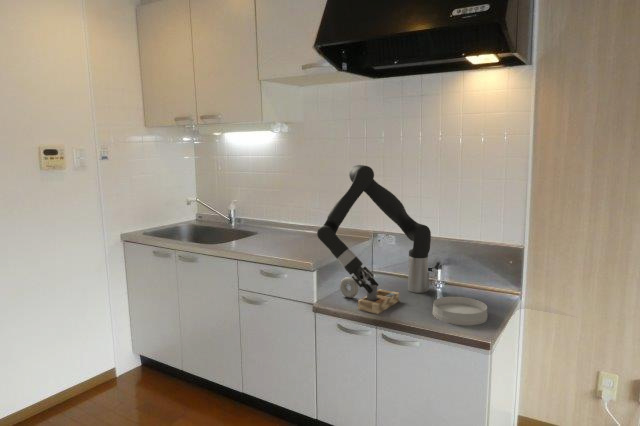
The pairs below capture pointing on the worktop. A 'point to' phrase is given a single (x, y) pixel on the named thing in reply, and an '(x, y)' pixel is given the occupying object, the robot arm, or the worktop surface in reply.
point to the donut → (353, 287)
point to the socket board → (379, 301)
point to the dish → (460, 310)
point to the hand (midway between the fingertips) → (374, 289)
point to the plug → (372, 293)
